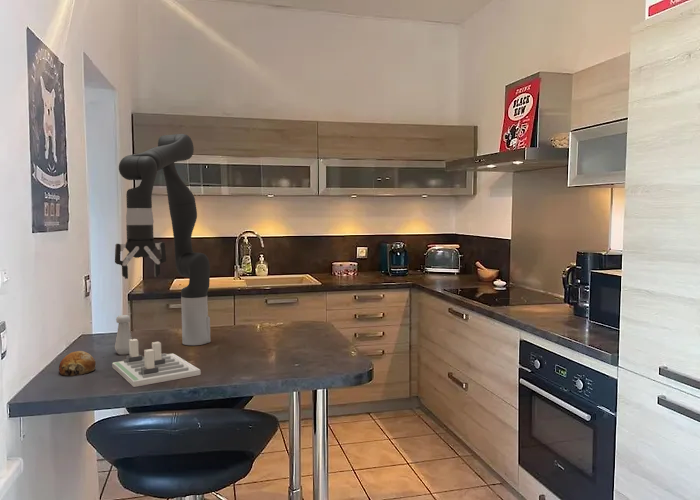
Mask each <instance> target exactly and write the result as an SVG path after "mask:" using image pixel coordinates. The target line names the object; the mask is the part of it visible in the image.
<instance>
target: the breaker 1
mask: <svg viewBox="0 0 700 500" xmlns="http://www.w3.org/2000/svg"><path fill="white" fill-rule="evenodd" d="M129 352H130V353H129V354H128V355H125V358H126V362H127V363H128V362H135V361H141V360H142V357H143V355H141V354H140V353H139V339H137V338H132V339H130V340H129Z"/></svg>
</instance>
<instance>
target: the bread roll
mask: <svg viewBox="0 0 700 500" xmlns="http://www.w3.org/2000/svg"><path fill="white" fill-rule="evenodd" d="M95 369H96V360H95V358H94V357H93V355H92V354H90V353H88V352H86V351H84V350H76V351H71V352H69V353H68V354H66V355H65V356H64V357H63V359H61V361H60V362H59V364H58V372H59V374H60V375H62V376H67V377H73V376H80V375H86V374H89V373H91V372H93V371H95Z"/></svg>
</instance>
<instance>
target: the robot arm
mask: <svg viewBox="0 0 700 500" xmlns="http://www.w3.org/2000/svg"><path fill="white" fill-rule="evenodd" d="M194 148H195V147H194V143H193V140H192V138H191V136H189V135H187V134H185V133H175V134H166V135H164V134H163V135H161V136H159V138H158V141H157V146H156V147H152V148H149V149H147V150H145V151H143V152H138V153H133V154H129V155H126V156H123V158H121V160H120V162H119V164H118V172H119V174H120V175H121V177H122V178H124V179H125V180H128V181H141V182H140V183H139V184H138V186H136V187H131V188H128V189H127V191H126V194H125V195H126V216H125V219H126V221H125V222H126V228H125V229H126V242H125V244H124V243H116V244H115V248H114V264H115V265H116V264H117V265H119V266H121V275H122V277H124V279H125V280H126V279H127V280H128V279H129V272H128V271H129V268H128V267H129V266H128V263H129V262H130V261H132V259H133V258H136V259H139V258H150V259H151V260H152V261H153V262H154V264H153V271H154V273H153V275H154V278H158V277H159V276H160V275H161V264H162V263H165V262H166V261H167V256H166V255H167V254H166V243H165V242H162V241H161V242H155V240H154V222H155V221H154V215H153V206H152V205H153V203H152V201H153V199H152V197H153V196H152V195H153V194H152V193H153V190H154V185H155V181H156V177H157V175H158V174H157V173H158V171H160V170H162V171H163V176H164V180H165V181H164V182H165V189H166V195H167V204H168V209H169V214H170V219H171V226H172V235H173V242H174V244H173V246H174V261H175V269H176V271H177V273H178V274H179V276H181V277H183V278H188V284H187V286H185V287H183V288H182V289H181V290H180V291H181V293H180V294H181V295H180V299H181V303H180V305H181V339H182V341H181V342H182V345H185V346H200V345H201V346H202V345H206V344H208V343H211V317H210V316H209V309H208V308H209V305H208V292H209V289H210V281H211V280H210V278H211V277H210V275H211V274H210V273H211V266H210V260H209V257H208V256H207V255H206V254H205V253H202V252H195V251H194V250H193V246H192V245H193V244H192V235H193V230H194V229H195V227H196V226H195V225H196V223H197V217H198V210H197V205H196V204H197V203H196V198H195V196H194V194H193V192H192V191H191V189H190V188H189V187H188V186H187V184H186V183H185V182H184V181H183V180H182V179H181V177H180V175H179V174H178V171H177V169H176V165H175V163H177V162H182V161H187V160H190V159H191V158H192V157H193V155H194ZM155 248H156V249H157V250H159V255H160V258H158V257H157V256H156V255H155V254H154V252H153V251H154V250H155ZM124 249H126V250H127V252H128V253H127V255H125V257H124V258H123V260H122V259H121V252H123V250H124Z"/></svg>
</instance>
